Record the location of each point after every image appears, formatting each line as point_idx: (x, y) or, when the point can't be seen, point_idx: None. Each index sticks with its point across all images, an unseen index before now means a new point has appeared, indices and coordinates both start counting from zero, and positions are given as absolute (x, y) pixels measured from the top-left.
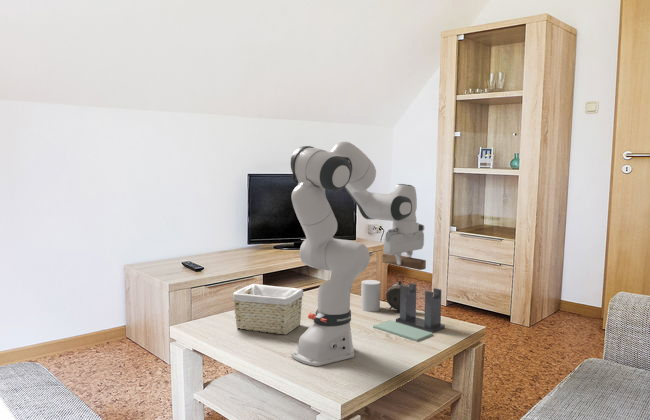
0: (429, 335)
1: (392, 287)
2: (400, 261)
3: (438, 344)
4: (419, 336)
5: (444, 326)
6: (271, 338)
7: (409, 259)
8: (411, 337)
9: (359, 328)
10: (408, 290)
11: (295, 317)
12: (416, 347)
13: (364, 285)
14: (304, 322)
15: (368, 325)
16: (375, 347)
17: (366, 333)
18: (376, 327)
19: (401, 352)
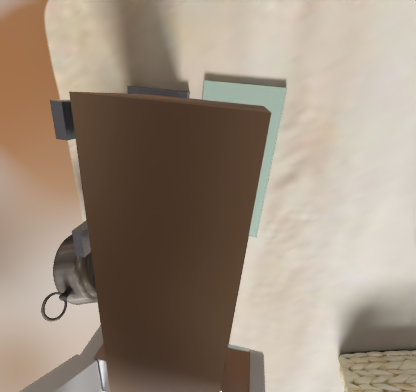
0: (222, 82)
1: (94, 297)
2: (264, 386)
3: (269, 15)
4: (257, 96)
5: (131, 86)
6: None
7: (227, 342)
8: (280, 110)
9: (281, 255)
10: (69, 256)
11: (380, 377)
12: (336, 58)
13: None
14: (317, 352)
15: (248, 249)
16: (400, 155)
17: (305, 227)
18: (258, 226)
19: (406, 70)
